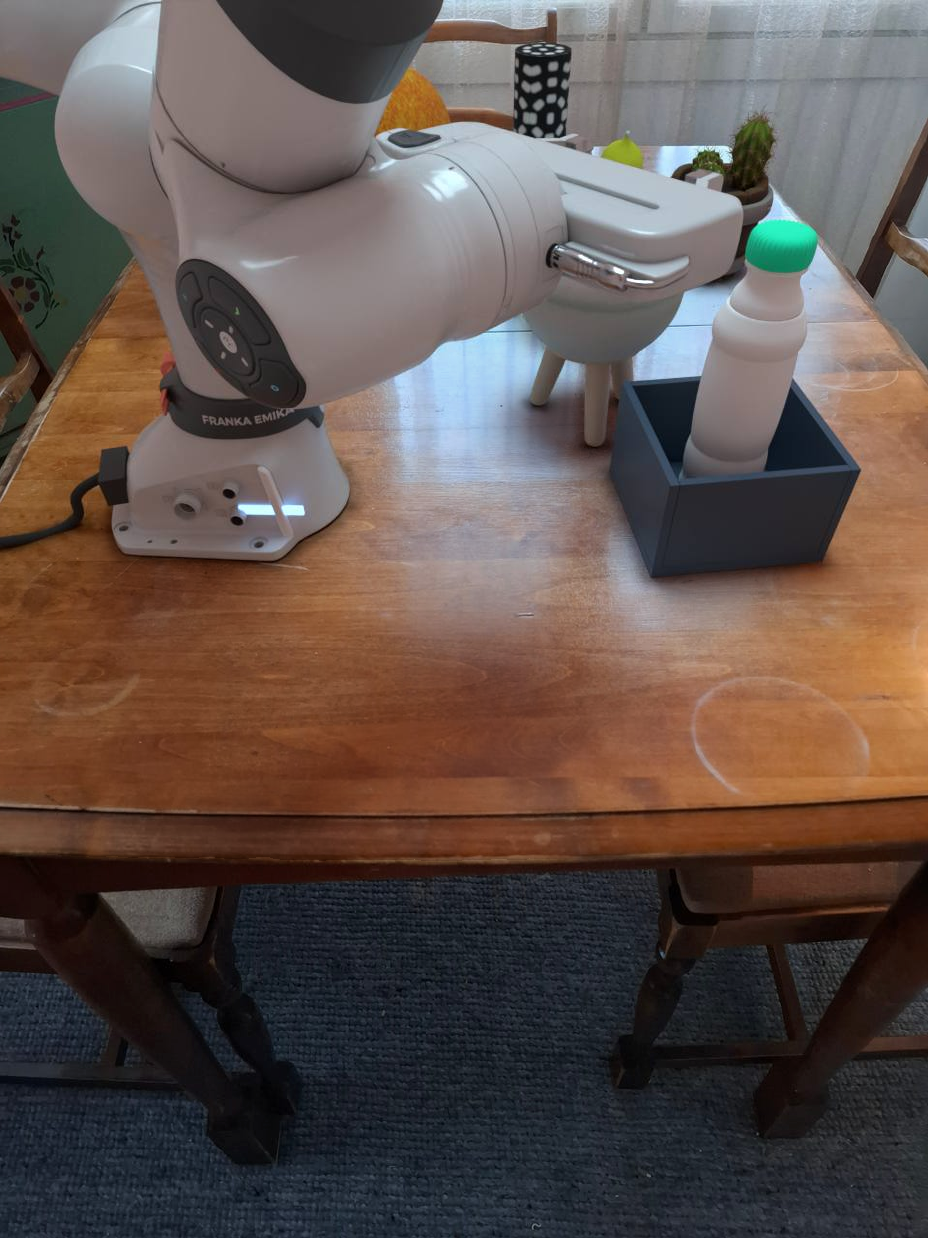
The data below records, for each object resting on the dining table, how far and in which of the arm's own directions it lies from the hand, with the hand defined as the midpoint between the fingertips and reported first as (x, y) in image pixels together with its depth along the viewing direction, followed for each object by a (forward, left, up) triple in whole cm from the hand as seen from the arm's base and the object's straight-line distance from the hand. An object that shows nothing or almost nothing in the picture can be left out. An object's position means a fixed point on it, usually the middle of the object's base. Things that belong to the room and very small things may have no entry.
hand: (644, 166), depth 48 cm
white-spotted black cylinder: (+10, +87, -32) cm, 94 cm away
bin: (+12, +4, -32) cm, 35 cm away
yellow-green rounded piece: (+24, +88, -32) cm, 97 cm away
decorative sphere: (-14, +84, -32) cm, 91 cm away
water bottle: (+12, +4, -31) cm, 34 cm away
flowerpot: (+28, +56, -32) cm, 71 cm away
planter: (+4, +22, -32) cm, 40 cm away
